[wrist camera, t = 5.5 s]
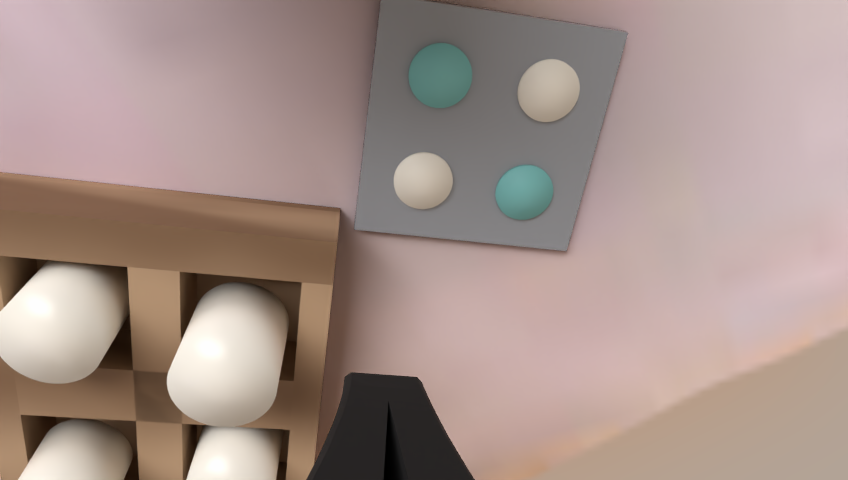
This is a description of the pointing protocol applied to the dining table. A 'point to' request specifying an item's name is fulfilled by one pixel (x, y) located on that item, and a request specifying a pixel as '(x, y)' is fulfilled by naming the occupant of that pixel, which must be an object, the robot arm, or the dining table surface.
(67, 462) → the button far left
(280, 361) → the button near right
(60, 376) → the button near left
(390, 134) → the card
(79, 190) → the board
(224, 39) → the dining table surface
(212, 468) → the button far right
